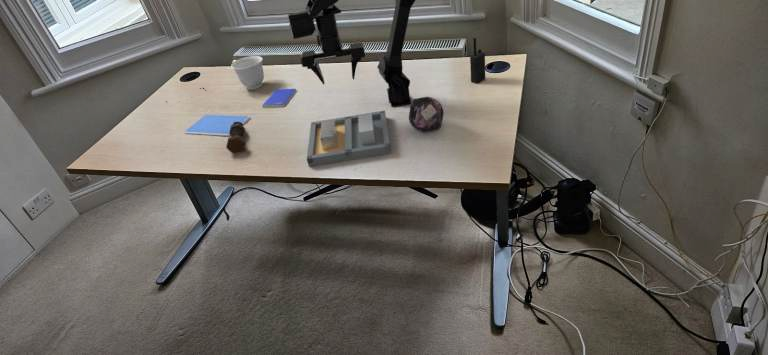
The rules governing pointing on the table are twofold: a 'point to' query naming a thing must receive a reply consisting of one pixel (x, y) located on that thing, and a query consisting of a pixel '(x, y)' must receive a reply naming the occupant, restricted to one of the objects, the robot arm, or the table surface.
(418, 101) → the mineral specimen
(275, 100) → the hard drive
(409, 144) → the table surface
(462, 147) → the table surface
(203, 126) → the light blue book
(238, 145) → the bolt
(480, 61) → the walkie-talkie
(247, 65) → the teacup
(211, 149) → the table surface
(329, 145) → the block
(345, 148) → the grey divided tray
